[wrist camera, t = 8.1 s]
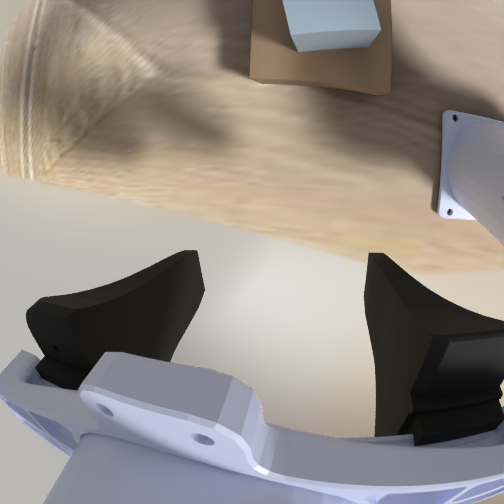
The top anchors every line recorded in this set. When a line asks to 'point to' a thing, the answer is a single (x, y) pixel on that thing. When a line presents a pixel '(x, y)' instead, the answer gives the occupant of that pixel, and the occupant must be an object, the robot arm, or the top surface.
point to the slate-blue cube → (331, 23)
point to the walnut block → (318, 55)
